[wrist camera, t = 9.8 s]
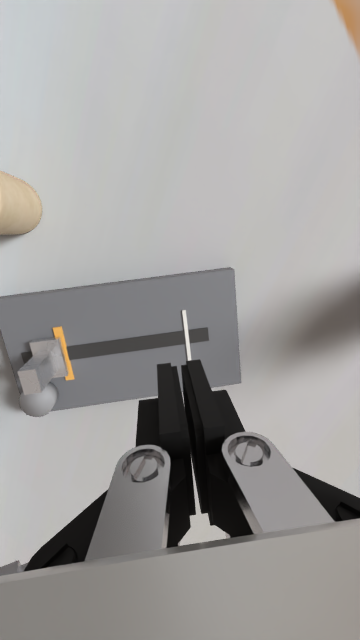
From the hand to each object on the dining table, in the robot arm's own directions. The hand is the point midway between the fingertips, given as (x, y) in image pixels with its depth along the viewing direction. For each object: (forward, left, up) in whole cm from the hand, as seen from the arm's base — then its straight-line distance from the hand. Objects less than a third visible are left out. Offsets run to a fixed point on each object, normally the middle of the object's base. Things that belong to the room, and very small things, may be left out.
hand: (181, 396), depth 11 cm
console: (+5, -5, -24) cm, 25 cm away
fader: (+5, -13, -21) cm, 26 cm away
